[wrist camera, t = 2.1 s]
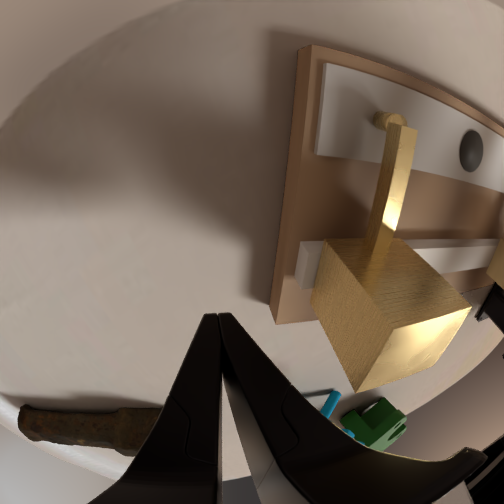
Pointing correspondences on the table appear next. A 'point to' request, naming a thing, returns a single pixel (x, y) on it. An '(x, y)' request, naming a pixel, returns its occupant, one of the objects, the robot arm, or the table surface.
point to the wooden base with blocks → (367, 173)
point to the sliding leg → (385, 284)
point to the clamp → (376, 425)
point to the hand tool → (90, 428)
